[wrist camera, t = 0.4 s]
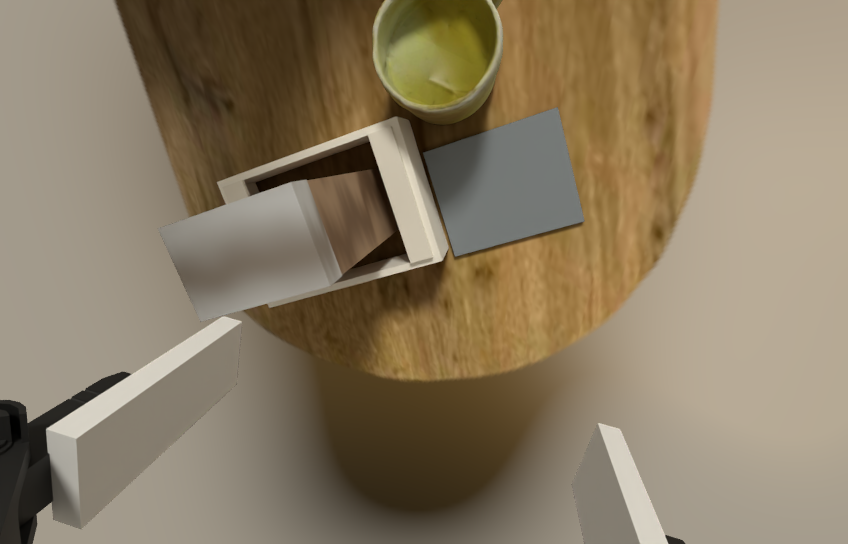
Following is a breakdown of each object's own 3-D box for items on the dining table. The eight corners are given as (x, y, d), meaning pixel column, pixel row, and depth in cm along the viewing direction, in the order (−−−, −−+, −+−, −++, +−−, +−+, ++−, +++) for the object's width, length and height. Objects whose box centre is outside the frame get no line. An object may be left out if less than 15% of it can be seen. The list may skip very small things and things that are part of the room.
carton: (248, 178, 43) (213, 182, 38) (409, 120, 39) (395, 115, 34) (293, 291, 45) (267, 310, 40) (449, 248, 41) (441, 262, 36)
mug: (444, 171, 38) (417, 122, 28) (376, 91, 40) (329, 19, 30) (557, 75, 36) (570, -12, 27) (480, -2, 38) (466, -109, 29)
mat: (423, 152, 39) (423, 152, 39) (557, 107, 36) (557, 107, 36) (455, 255, 41) (455, 256, 41) (583, 220, 39) (584, 221, 38)
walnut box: (294, 195, 43) (157, 228, 26) (379, 167, 40) (290, 182, 23) (316, 253, 44) (200, 321, 27) (399, 229, 42) (330, 286, 25)
